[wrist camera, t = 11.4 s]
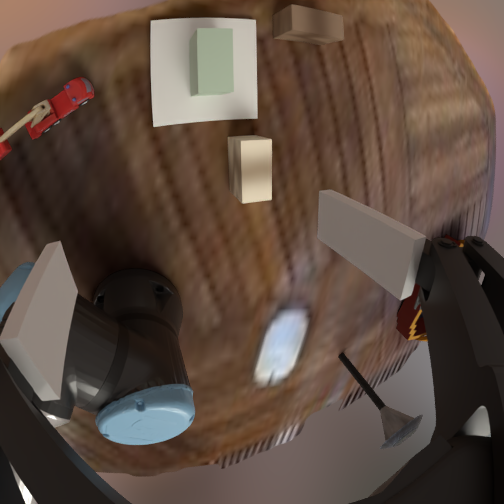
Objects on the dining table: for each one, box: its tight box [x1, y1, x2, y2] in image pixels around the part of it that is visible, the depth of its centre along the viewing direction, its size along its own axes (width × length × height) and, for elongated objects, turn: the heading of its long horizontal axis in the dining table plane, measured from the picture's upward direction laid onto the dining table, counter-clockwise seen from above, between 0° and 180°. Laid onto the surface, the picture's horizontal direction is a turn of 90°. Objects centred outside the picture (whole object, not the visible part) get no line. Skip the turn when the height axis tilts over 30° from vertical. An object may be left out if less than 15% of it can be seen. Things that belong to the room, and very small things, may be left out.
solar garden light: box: [339, 353, 422, 449], centre depth 60 cm, size 12×12×30 cm
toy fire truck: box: [0, 77, 94, 160], centre depth 24 cm, size 3×14×10 cm, turn 113°
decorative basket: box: [396, 234, 465, 341], centre depth 69 cm, size 34×29×15 cm
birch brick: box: [228, 135, 272, 203], centre depth 38 cm, size 8×4×6 cm, turn 1°
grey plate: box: [150, 18, 257, 127], centre depth 32 cm, size 15×14×1 cm
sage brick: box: [189, 28, 234, 97], centre depth 29 cm, size 8×4×6 cm, turn 1°
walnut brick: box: [273, 4, 344, 45], centre depth 30 cm, size 8×4×6 cm, turn 91°
